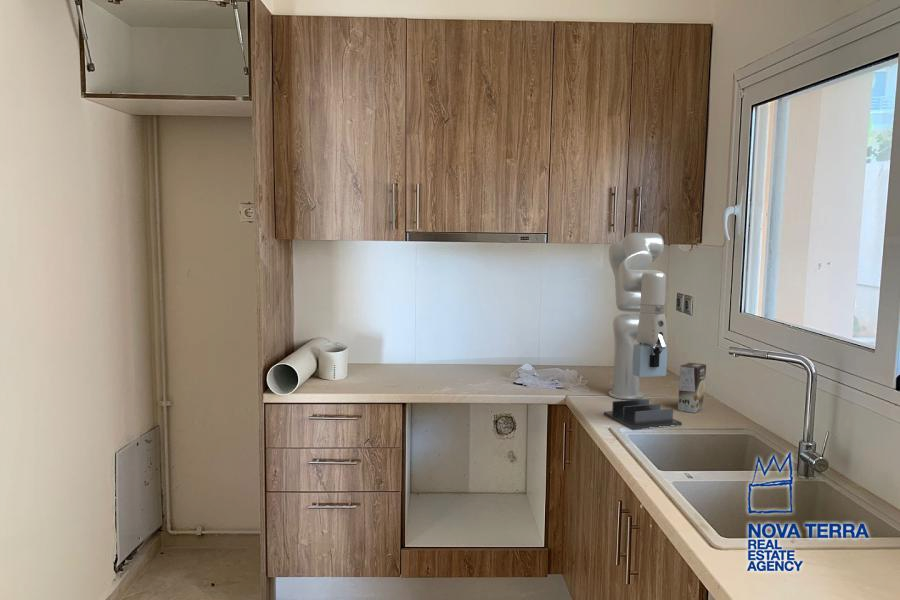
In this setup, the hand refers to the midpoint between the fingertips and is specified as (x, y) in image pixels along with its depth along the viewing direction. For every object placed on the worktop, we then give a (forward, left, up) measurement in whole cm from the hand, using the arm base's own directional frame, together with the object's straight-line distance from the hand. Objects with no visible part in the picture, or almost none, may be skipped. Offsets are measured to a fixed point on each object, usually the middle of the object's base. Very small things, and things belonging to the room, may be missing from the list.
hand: (649, 365), depth 206 cm
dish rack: (-3, 0, -19) cm, 20 cm away
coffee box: (-10, +25, -19) cm, 33 cm away
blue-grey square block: (0, 0, -3) cm, 3 cm away
